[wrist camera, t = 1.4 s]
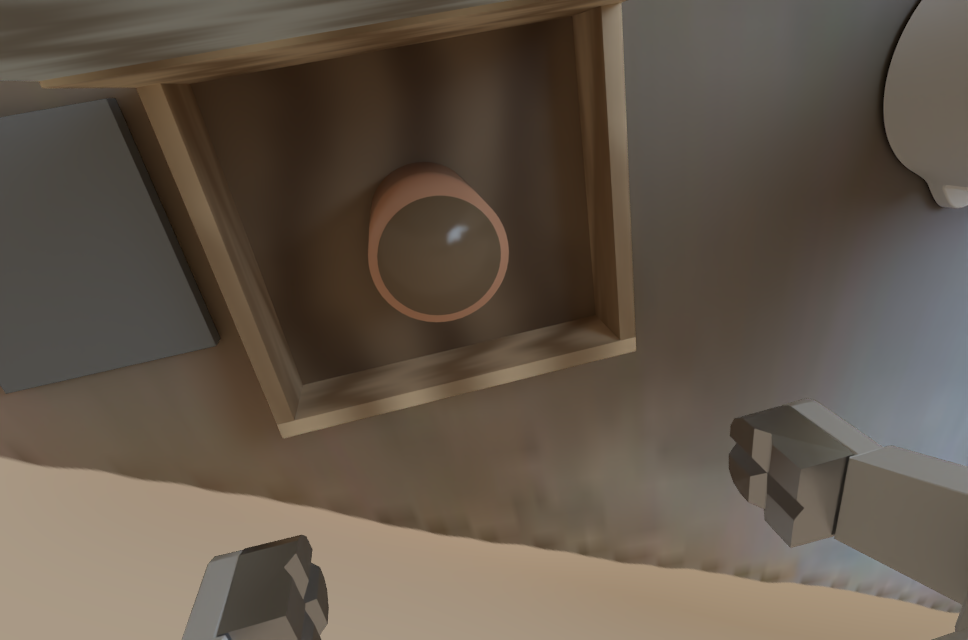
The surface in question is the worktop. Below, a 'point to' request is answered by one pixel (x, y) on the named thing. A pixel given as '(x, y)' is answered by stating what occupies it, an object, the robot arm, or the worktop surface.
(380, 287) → the terracotta pot
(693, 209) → the worktop surface
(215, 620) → the robot arm
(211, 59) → the brown patterned open box
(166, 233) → the slate tile
